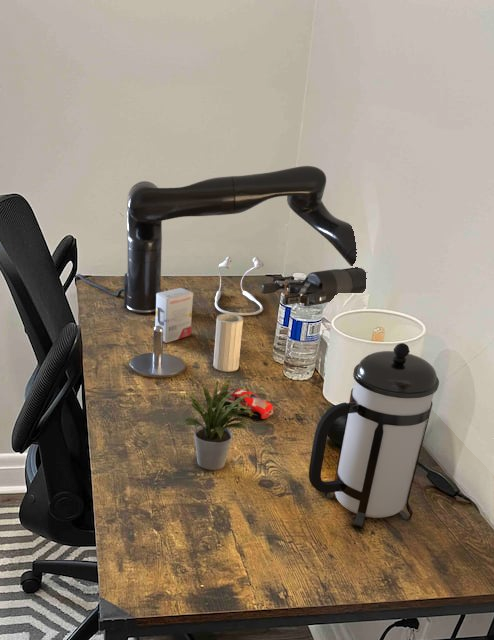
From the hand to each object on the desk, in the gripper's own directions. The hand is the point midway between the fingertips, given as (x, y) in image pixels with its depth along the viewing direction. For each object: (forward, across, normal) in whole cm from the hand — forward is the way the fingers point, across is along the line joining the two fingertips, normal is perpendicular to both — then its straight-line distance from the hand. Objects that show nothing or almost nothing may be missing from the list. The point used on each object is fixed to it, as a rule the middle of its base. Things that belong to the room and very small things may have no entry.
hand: (272, 294), depth 171 cm
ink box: (+14, +21, -16) cm, 30 cm away
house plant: (+38, -37, -16) cm, 56 cm away
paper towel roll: (+11, 0, -16) cm, 20 cm away
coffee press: (+21, -61, -16) cm, 67 cm away
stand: (+26, +6, -16) cm, 32 cm away
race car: (+20, -21, -16) cm, 33 cm away
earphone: (-15, +37, -16) cm, 43 cm away
